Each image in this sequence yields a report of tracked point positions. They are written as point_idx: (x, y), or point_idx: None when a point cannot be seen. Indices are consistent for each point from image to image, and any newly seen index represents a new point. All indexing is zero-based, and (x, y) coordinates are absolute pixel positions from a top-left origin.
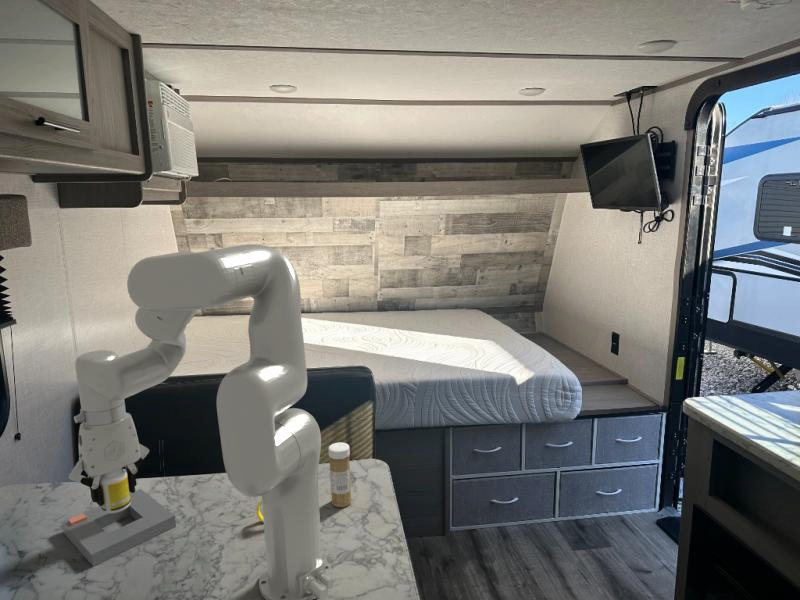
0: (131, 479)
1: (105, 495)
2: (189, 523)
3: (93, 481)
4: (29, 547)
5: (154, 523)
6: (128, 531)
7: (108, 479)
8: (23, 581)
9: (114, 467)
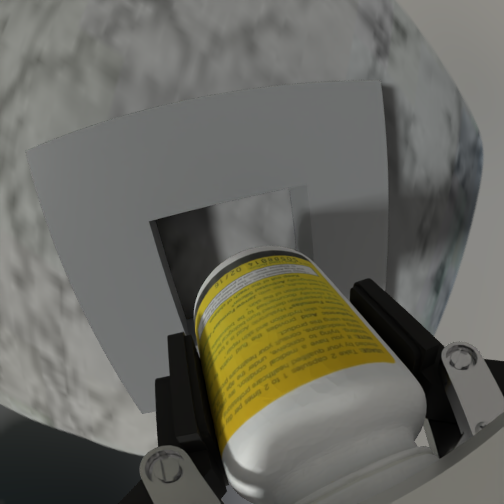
0: (191, 406)
1: (364, 319)
2: (4, 139)
3: (491, 378)
4: (423, 295)
5: (113, 132)
6: (231, 139)
7: (406, 402)
8: (466, 162)
9: (442, 501)
